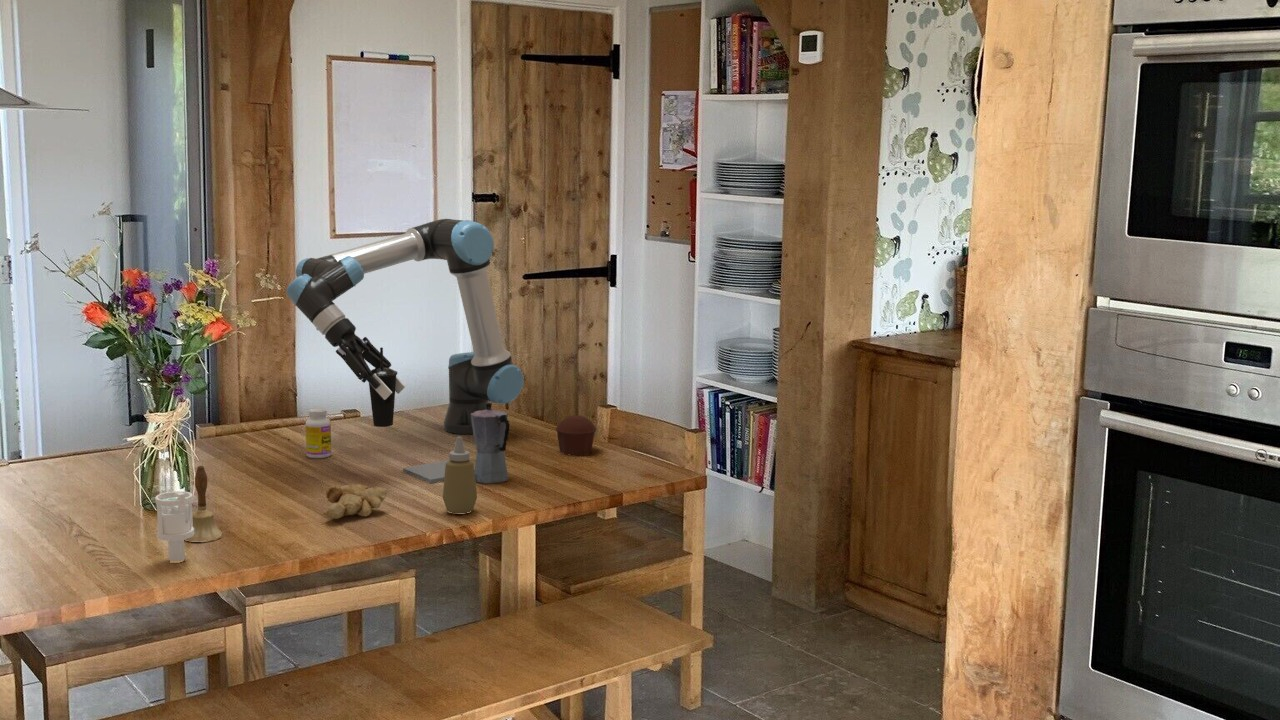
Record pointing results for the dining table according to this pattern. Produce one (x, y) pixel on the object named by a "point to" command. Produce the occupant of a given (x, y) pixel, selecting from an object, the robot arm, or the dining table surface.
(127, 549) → the dining table surface
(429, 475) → the slate coaster
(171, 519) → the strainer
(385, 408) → the drinking cup
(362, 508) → the ginger root
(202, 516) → the hand bell
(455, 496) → the squeeze bottle
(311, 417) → the supplement bottle
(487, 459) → the moka pot
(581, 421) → the muffin
